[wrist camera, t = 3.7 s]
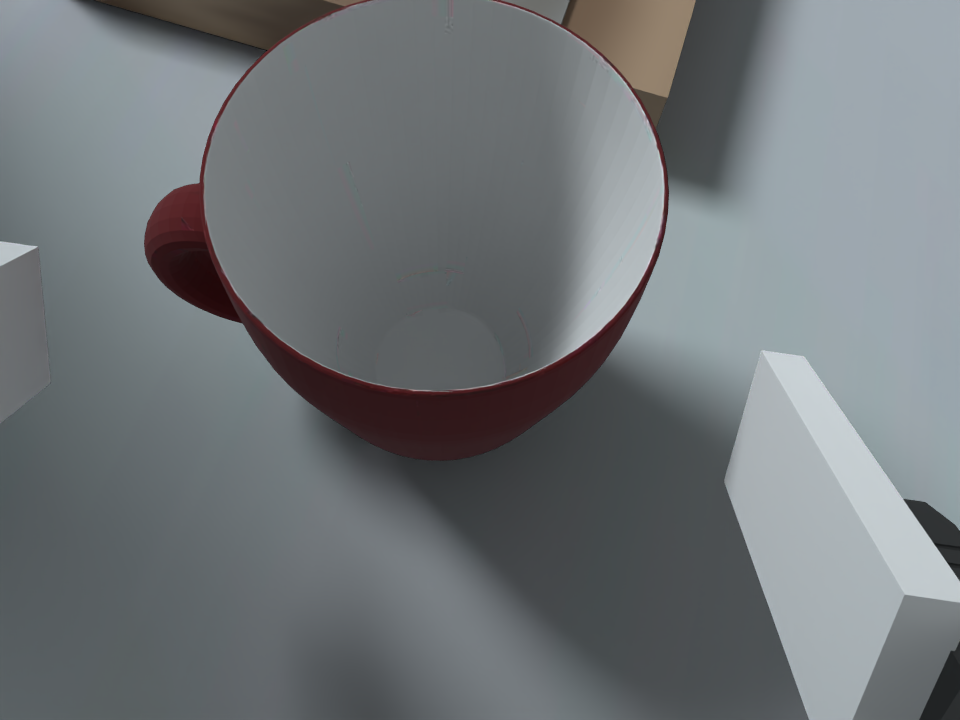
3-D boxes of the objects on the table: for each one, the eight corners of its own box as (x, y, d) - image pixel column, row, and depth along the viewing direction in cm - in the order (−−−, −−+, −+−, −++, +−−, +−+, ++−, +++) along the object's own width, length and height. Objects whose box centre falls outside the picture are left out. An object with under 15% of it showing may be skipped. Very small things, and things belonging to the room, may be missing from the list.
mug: (183, 504, 22) (-8, 379, 13) (226, 232, 25) (96, -32, 16) (584, 521, 22) (683, 411, 13) (582, 250, 25) (662, 0, 16)
